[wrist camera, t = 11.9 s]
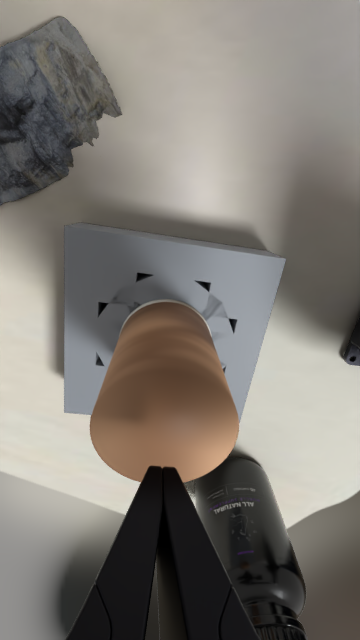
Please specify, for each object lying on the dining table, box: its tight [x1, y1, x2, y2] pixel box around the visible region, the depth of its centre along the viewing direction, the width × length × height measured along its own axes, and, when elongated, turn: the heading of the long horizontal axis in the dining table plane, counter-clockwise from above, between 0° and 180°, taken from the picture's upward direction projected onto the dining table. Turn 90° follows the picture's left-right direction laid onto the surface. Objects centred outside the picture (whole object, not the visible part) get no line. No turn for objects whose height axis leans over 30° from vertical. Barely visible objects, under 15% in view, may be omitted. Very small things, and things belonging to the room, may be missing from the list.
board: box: [64, 223, 286, 423], centre depth 19 cm, size 12×12×3 cm
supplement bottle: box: [195, 457, 307, 640], centre depth 21 cm, size 7×7×12 cm
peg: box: [90, 299, 239, 482], centre depth 15 cm, size 6×6×10 cm
